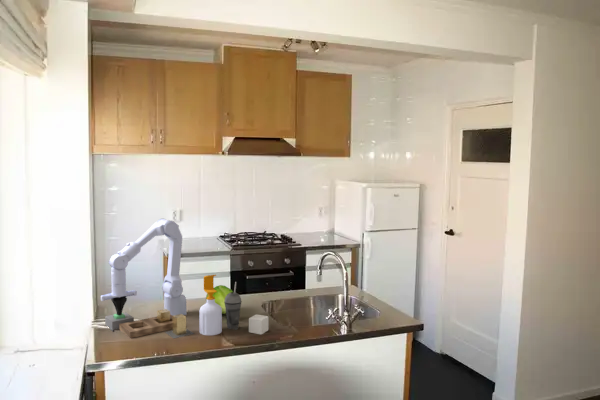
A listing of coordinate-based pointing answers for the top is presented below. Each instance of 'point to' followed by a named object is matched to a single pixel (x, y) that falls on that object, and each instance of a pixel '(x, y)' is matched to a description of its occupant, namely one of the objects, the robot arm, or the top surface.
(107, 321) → the button housing
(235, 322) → the beverage cup
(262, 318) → the white cube
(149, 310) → the top surface
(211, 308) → the soap bottle
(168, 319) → the block
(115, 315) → the button
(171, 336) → the mat
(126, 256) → the robot arm
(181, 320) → the block
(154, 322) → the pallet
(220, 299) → the lettuce
